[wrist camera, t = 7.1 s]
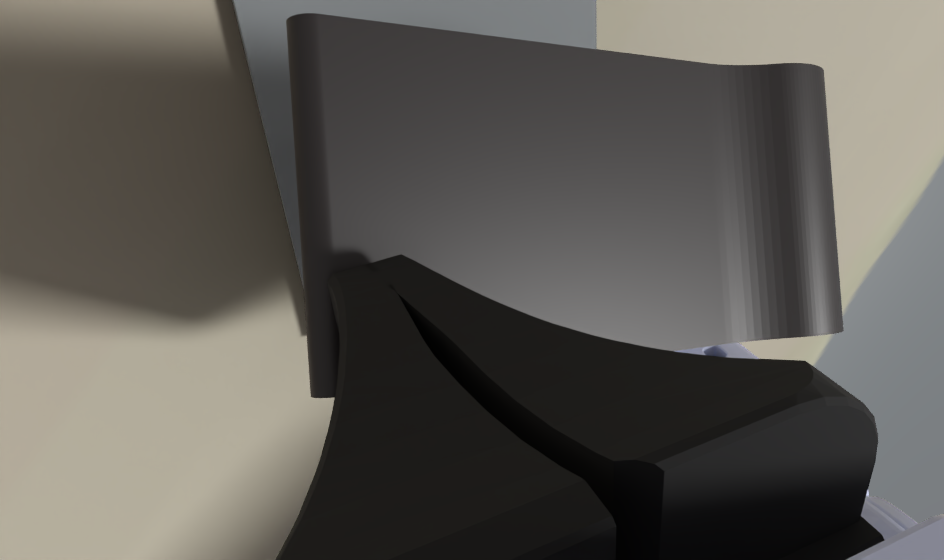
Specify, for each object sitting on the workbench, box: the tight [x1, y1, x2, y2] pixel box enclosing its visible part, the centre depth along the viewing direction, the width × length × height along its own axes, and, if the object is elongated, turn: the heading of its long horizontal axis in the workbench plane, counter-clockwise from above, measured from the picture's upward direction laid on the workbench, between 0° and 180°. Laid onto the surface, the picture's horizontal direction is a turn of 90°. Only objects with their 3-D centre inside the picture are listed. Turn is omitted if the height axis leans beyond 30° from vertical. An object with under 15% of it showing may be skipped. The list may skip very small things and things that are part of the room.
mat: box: [232, 0, 596, 290], centre depth 21 cm, size 10×15×1 cm, turn 6°
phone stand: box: [286, 13, 843, 398], centre depth 17 cm, size 9×6×12 cm
